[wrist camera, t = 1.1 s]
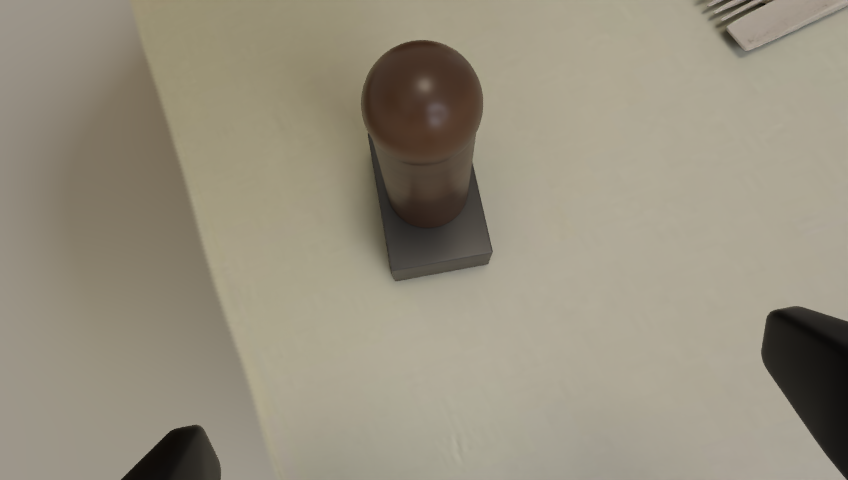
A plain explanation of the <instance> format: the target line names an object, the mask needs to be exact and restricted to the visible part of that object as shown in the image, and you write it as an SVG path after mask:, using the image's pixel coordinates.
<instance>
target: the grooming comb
mask: <svg viewBox="0 0 848 480" xmlns="http://www.w3.org/2000/svg"><path fill="white" fill-rule="evenodd" d="M721 1H723V0H714V1H712V2H710V3H709V4H707V5H706V6H707V7H708V6H711V5H714V4H716V3H719V2H721ZM745 1H748V0H732V1H730V2H728V3H727V4H725V5H723V6H722V7H720V8H718V9H716V10H715V11H713V13H714V14H715V13H718V12H720V11H723V10H725V9H727V8H730V7H732V6H735V5H737V4H740V3H742V2H745ZM760 3H766V5H764V6H762V7H760V8H758V9H756V10H754V11H752V12H750V13H748V14H746V15H745V16H743V17H741V18H739V19H737V20H736V21H734V22H732V23H731V24H729V25H727V27H726V30H727V31H728V32H729V34H730V35H731V36H732V37H733V38H734V39H735V40H736V41H737V43H738V44H739V45H740V46H741V47H742V48H743V49H744V50H745V51H749V50H751V49H754V48H756V47H758V46H761V45H763V44H765V43H768V42H770V41H773V40H775V39H777V38H779V37H781V36H784V35H786V34H788V33H790V32H793V31H795V30H797V29H799V28H801V27H803V26H805V25H807V24H809V23H811V22H813V21H816V20H818V19H820V18H822V17H824V16H826V15H829V14H831V13H833V12H835V11H837V10H840V9H842V8H844V7H846V6H848V0H753V1H751V2H750V3H748V4H746V5H744V6H742V7H740V8H738V9H736V10H735V11H733V12H731V13H730V14H728V15H726V16H724V17H723V18H721V21H723V20H726V19H728V18H729V17H731V16H733V15H735V14H738V13H740V12H742V11H745V10H747V9H749V8H752V7H754V6H756V5H758V4H760Z"/></svg>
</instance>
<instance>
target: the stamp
mask: <svg viewBox="0 0 848 480" xmlns="http://www.w3.org/2000/svg"><path fill="white" fill-rule="evenodd" d="M361 108H362V116H363V120H364V124H365V126H366V128H367V131H368V138H369V144H370V150H371V156H372V162H373V168H374V173H375V179H376V185H377V191H378V197H379V203H380V209H381V215H382V221H383V226H384V232H385V238H386V244H387V250H388V256H389V262H390V268H391V272H392V274H393V276H394V279H395V281H400V280H405V279H411V278H416V277H421V276H427V275H432V274H437V273H443V272H448V271H453V270H459V269H464V268H470V267H475V266H480V265H486V264H488V263H489V260H490V258H491V255H492V252H493V251H492V247H491V242H490V238H489V233H488V229H487V225H486V220H485V216H484V211H483V207H482V203H481V198H480V194H479V189H478V185H477V181H476V176H475V172H474V167H473V163H472V159H473V152H474V145H475V137H476V132H477V130H478V128H479V125H480V121H481V118H482V113H483V94H482V89H481V85H480V82H479V79H478V77H477V75H476V73H475V71H474V69H473V68H472V66H471V65H470V63H469V62H468V61H467V60H466V59H465V58H464V57H463V56H462V55H461V54H460V53H458V52H457V51H456V50H454V49H453V48H451V47H449V46H447V45H444V44H441V43H438V42H434V41H428V40H416V41H410V42H406V43H403V44H400V45H398V46H396V47H394V48H392V49H390V50H389V51H387V52H386V53H385V54H384V55H382V56H381V57H380V58H379V59H378V60H377V62H376V63H375V64H374V65H373V67H372V68H371V70H370V71H369V73H368V75H367V78H366V80H365V83H364V86H363V91H362V98H361Z"/></svg>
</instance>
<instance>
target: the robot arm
mask: <svg viewBox="0 0 848 480" xmlns="http://www.w3.org/2000/svg"><path fill="white" fill-rule="evenodd" d="M761 354H762V360H763V363H764V365H765V367H766V368H767V370H768V372H769V373H770V374H771V376H772V377H773V379H774V380H775V382H776V383H777V385H778V386H779V388H780V389H781V390H782V392H783V393H784V395H785V396H786V398H787V399H788V401H789V402H790V404H791V405H792V407H793V408H794V409H795V411H796V412H797V414H798V415H799V417H800V418H801V420H802V421H803V423H804V424H805V426H806V427H807V428H808V430H809V431H810V433H811V434H812V436H813V437H814V439H815V440H816V441H817V443H818V444H819V445H820V447H821V448H822V450H823V451H824V452H825V454H826V455H827V456H828V457H829V459H830V460H831V461H832V462H833V464H834V465H835V466H836V467H837V469H838V470H839V471H840V472H841V473H842V475H843V476H844V477H845V478H846V480H848V322H847V321H844V320H841V319H838V318H835V317H832V316H828V315H825V314H822V313H819V312H816V311H813V310H810V309H806V308H803V307H799V306H793V307H787V308H782V309H777V310H773V311H772V312H770V313H769V315H768V316H767V319H766V324H765V331H764V337H763V343H762V349H761ZM220 479H221V468H220V463H219V460H218V457H217V455H216V453H215V451H214V449H213V447H212V445H211V443H210V441H209V439H208V436H207V435H206V432H205V431H204V429H203V428H202V427H201V426H199V425H192V426H187V427H181V428H177V429H174V430H172V431H170V432H169V433H168V434H167V435H166V436H165V437H164V438H163V439H162V440H161V441H160V442H159V443H158V444H157V445H156V446H155V447H154V448H153V449H152V450H151V451H150V452H149V453H148V454H146V455H145V457H144V458H142V459H141V460H140V461H139V462H138V463H137V464H136V465H135V466H134V467H133V468H132V469H131V470H130V471H129V472H128V473H127V474H126V475H125V476H124V477H123V478H122V479H121V480H220Z"/></svg>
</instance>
